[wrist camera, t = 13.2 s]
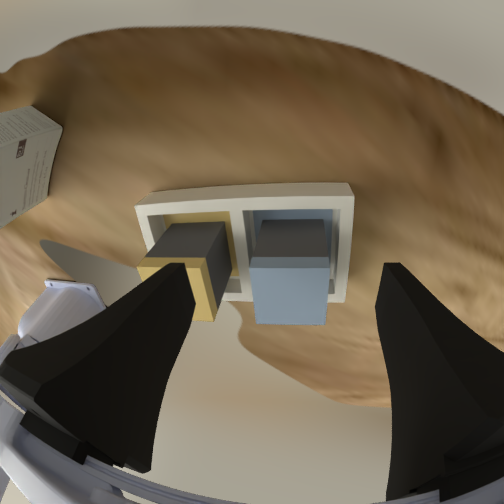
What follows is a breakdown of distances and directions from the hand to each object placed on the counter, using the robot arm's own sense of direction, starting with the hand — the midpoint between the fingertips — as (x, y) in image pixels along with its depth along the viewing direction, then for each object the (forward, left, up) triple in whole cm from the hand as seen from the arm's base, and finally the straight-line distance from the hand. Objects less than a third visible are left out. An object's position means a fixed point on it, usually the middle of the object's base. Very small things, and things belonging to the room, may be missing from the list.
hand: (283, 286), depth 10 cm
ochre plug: (-7, -4, -9) cm, 12 cm away
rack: (-3, -4, -10) cm, 11 cm away
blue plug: (0, -4, -9) cm, 10 cm away
